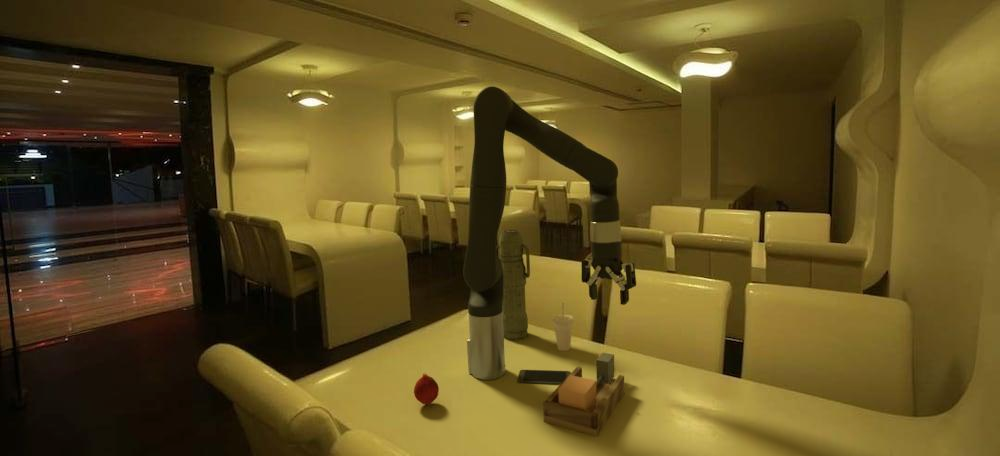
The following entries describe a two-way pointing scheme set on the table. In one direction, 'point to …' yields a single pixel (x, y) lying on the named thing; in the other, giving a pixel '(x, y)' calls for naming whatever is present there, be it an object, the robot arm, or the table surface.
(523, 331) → the thermos
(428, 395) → the onion
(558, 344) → the smoothie
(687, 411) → the table surface
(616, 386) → the wooden crate
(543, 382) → the cell phone
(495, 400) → the table surface
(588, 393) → the block
